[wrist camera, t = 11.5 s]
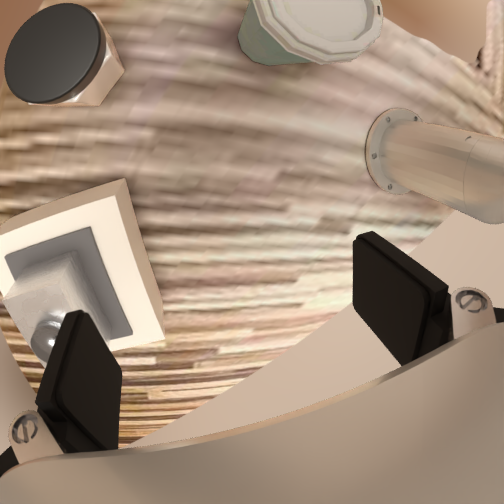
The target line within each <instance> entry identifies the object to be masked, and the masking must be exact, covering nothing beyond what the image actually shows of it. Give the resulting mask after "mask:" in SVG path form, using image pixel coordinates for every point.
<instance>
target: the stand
mask: <svg viewBox="0 0 504 504" xmlns="http://www.w3.org/2000/svg"><path fill="white" fill-rule="evenodd" d="M73 250H76V251H77V253H78V256H79V258H80V261H81V263H82V265H83V268H84V270H85V272H86V275H87V277H88V279H89V282H90V284H91V286H92V288H93V290H94V293H95V295H96V297H97V299H98V301H99V303H100V305H101V307H102V309H103V311H104V313H105V315H106V317H107V319H108V321H109V323H110V325H111V327H112V330H111V337H110V345H109V350H110V351H115V350H120V349H124V348H129V347H133V346H138V345H142V344H146V343H150V342H154V341H159V340H163V339H165V329H164V316H163V301H162V296H161V294H160V291H159V288H158V285H157V282H156V279H155V276H154V273H153V270H152V267H151V264H150V261H149V258H148V255H147V252H146V249H145V246H144V243H143V239H142V236H141V233H140V229H139V226H138V223H137V219H136V216H135V212H134V209H133V205H132V202H131V198H130V194H129V190H128V187H127V183H126V179H125V178H123V179H119V180H116V181H113V182H109V183H106V184H103V185H100V186H96V187H93V188H90V189H87V190H84V191H81V192H78V193H75V194H72V195H69V196H66V197H64V198H61V199H58V200H55V201H52V202H50V203H47V204H44V205H42V206H39V207H36V208H34V209H31V210H29V211H26V212H24V213H21V214H19V215H16V216H14V217H11V218H9V219H8V220H7V221H6V222H4V223H3V224H2V225H1V226H0V291H1V293H2V295H3V296H4V297H5V296H6V294H7V293H8V291H9V290H10V288H11V287H12V285H13V284H14V282H15V281H16V279H17V278H18V276H19V275H20V274H21V272H22V271H23V269H24V268H25V267H26V266H28V265H31V264H34V263H37V262H40V261H43V260H46V259H49V258H52V257H55V256H58V255H61V254H64V253H67V252H70V251H73Z"/></svg>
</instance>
